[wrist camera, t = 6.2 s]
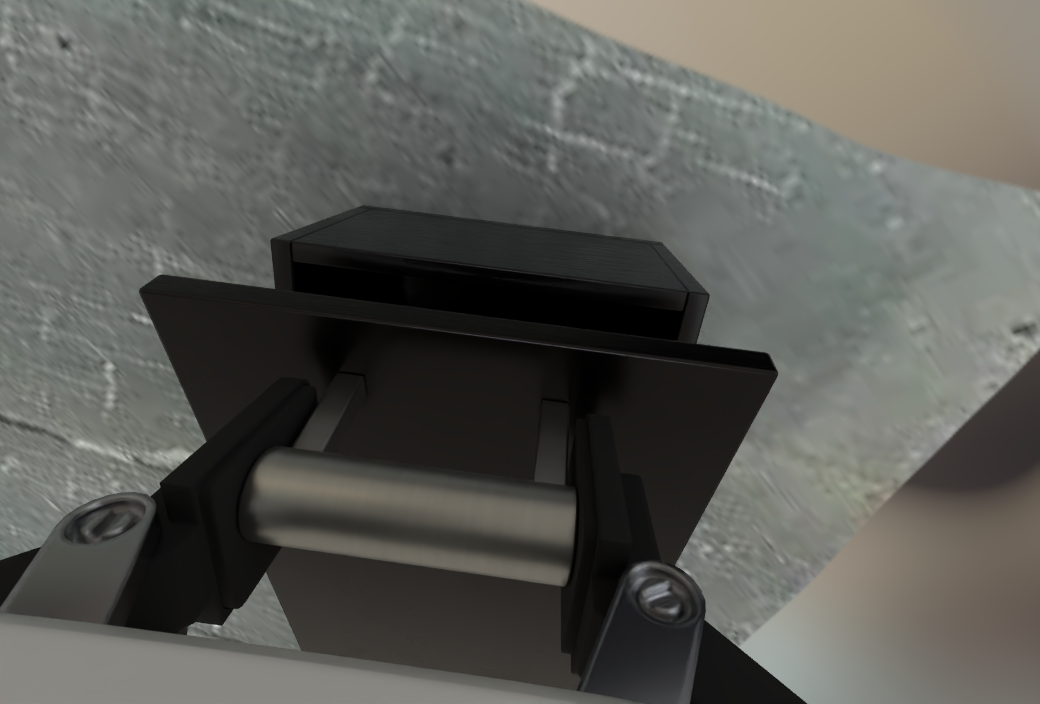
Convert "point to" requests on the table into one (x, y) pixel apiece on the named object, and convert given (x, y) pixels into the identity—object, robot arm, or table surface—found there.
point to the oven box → (494, 271)
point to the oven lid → (446, 461)
